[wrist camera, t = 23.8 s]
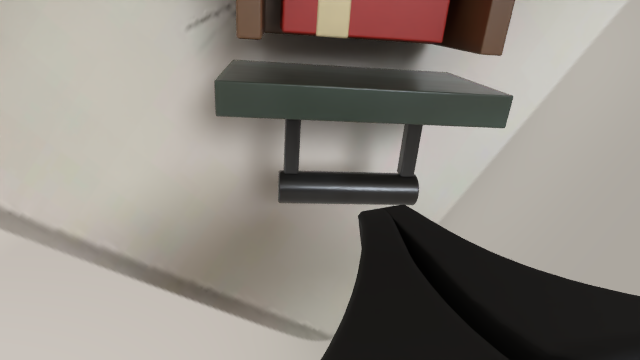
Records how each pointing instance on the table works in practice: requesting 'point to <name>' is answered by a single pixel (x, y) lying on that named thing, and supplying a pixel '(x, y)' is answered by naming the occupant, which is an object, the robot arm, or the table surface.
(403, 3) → the red rectangular block
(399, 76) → the drawer
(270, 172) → the table surface
